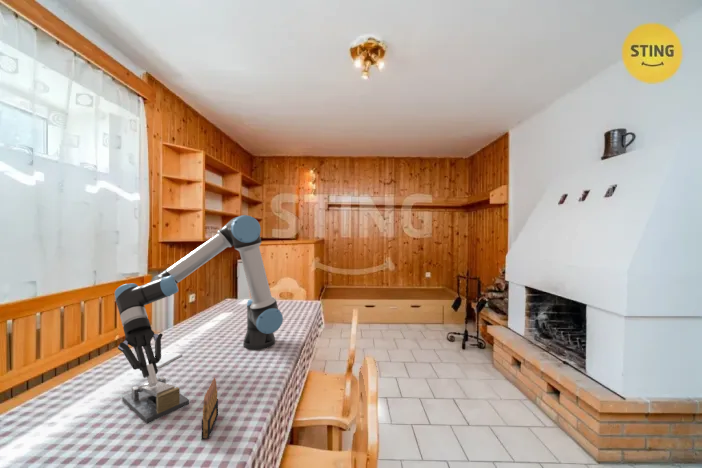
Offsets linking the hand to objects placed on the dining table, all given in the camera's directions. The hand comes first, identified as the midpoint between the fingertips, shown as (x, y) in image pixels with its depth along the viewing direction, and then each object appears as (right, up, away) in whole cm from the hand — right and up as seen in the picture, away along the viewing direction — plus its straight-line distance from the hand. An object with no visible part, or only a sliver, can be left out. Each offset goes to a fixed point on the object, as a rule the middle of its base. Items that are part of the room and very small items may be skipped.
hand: (153, 384), depth 94 cm
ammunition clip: (+23, -7, -10) cm, 26 cm away
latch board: (-1, -7, +2) cm, 7 cm away
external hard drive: (-18, -7, +33) cm, 38 cm away
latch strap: (-5, -3, +5) cm, 7 cm away
